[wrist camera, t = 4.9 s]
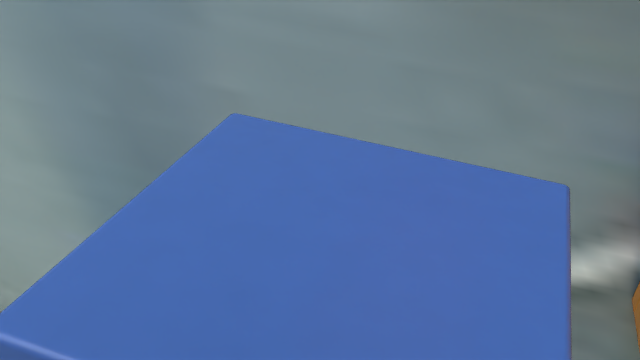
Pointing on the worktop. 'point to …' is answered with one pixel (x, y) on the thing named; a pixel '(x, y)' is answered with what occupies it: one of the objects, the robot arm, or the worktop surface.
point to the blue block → (311, 260)
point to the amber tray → (637, 311)
